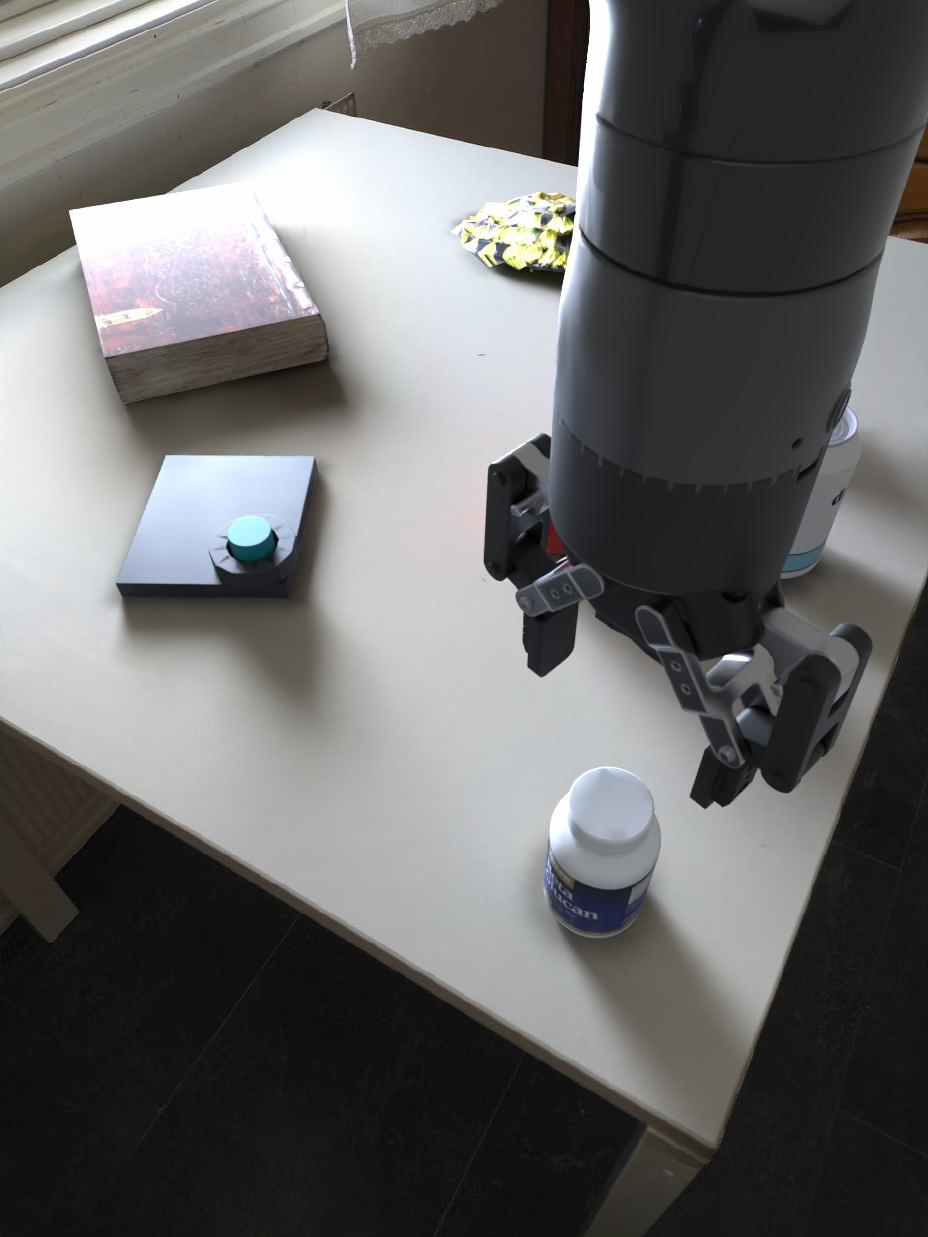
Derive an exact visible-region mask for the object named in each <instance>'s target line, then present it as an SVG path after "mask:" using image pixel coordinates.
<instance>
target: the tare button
mask: <svg viewBox="0 0 928 1237" xmlns="http://www.w3.org/2000/svg"><path fill="white" fill-rule="evenodd" d="M227 537H228V540H229V544H230V547H231V550H232V553H233V555H234V556H235V558H237V559H238V560H240V561H243V562H256V561H258V560H261V559H264V558H266V557H268V556H269V555H270V554H271V553H272V552H273V550H274V548H275V541H274V537H273V533H272V529H271V526H270V524H269V523H268V522H267V521H266V520H265V519H263V518H260V517H246V518H242V519H240V520H238V521H236V522H235V523H233V524H232V525H231V526H230V528H229V530H228V533H227Z"/></svg>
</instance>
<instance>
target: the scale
mask: <svg viewBox="0 0 928 1237" xmlns="http://www.w3.org/2000/svg"><path fill="white" fill-rule="evenodd" d="M318 470H319V468H318V464H317V458H316V456H315V455H313V456H312V455H307V456H305V455H190V454H189V455H188V454H187V455H185V454H183V455H177V454H175V455H172V454H171V455H170V454H169V455H165V457H164V460H163V462H162V464H161V467H160V469H159V472H158V475H157V477H156V480H155V483H154V486H153V487H152V490H151V492H150V495H149V498H148V500H147V503H146V505H145V508H144V509H143V512H142V515H141V518H140V521H139V523H138V525H137V528H136V530H135V533H134V535H133V538H132V541H131V543H130V546H129V548H128V550H127V551H128V552H127V554H126V556H125V559H124V561H123V563H122V566H121V569H120V571H119V574H118V576H117V579H116V581H115V585H116V588H117V591H118V592H119V594H120V596H121V597H122V598H193V599H195V598H198V599H199V598H200V599H205V598H206V599H214V598H215V599H265V600H266V599H267V600H269V599H274V600H275V599H276V600H279V599H280V600H281V599H282V600H290V598H291V593H292V588H293V584H294V579H295V575H296V570H297V567H298V566H297V565H298V561H299V557H300V552H301V547H302V544H303V538H304V533H305V529H306V525H307V520H308V515H309V511H310V507H311V501H312V498H313V492H314V489H315V484H316V479H317V474H318ZM246 517H260V518H263V519H265V520H266V521H267V522H268V523H269V524H270V526H271V529H272V533H273V537H274V541H275V548H274V550H273V552H272V553H271V554H270V555H269V556H268V557H266V558H264V559H261V560H258V561H256V562H243V561H240V560H238V559H237V558H235V556H234V555H233V553H232V550H231V547H230V544H229V540H228V537H227V533H228V530H229V528H230V526H231V525H232V524H233V523H235V522H236V521H238V520H240V519H242V518H246Z"/></svg>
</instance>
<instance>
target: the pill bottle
mask: <svg viewBox="0 0 928 1237" xmlns="http://www.w3.org/2000/svg"><path fill="white" fill-rule="evenodd" d="M655 810H656V808H655V802H654V797H653V795H652V792H651V790H650V789H649V787H648V786H647V785H646V783H644V781H643V780H642V779H641V778H639V777H638V776H637V775H635V774H634V773H632V772H630V771H628V770H627V769H623V768H620V767H616V766H601V767H600V766H599V767H596V768H592V769H590V770H587V771H586V772H584V773H582V774H580V776H579V777H578V778H577V779H576V780H575V781H574V782H573V784H572V785H571V787H570V789H569V792H568V793H567V794H566V795H565V796H564V797H563V798H561V800H560V801H559V802H558V804H557V805H556V807H555V809H554V811H553V813H552V816H551V819H550V825H549V832H548V840H547V849H546V860H545V865H544V866H545V867H544V874H543V895H544V900H545V902H546V904H547V907H548V909H549V911H550V913H551V914H552V916H553V917H554V918H555V919H556V920H557V922H559V924H560V925H561V926H563V927H564V928H566V929H567V930H568V931H570V932H572V933H574V934H576V935H578V936H582V937H585V938H590V939H606V938H610V937H614V936H616V935H619V934H620V933H622V932H623V931H625V930H627V929H628V928H629V927H630V926H631V925H632V924H633V923H634V922H635V921H636V919H637V917H638V916H639V914H640V912H641V910H642V907H643V905H644V902H645V898H646V896H647V892H648V889H649V886H650V883H651V880H652V877H653V874H654V871H655V868H656V864H657V862H658V858H659V856H660V852H661V846H662V831H661V826H660V823H659V820H658V817H657V814H656V813H655Z"/></svg>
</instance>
